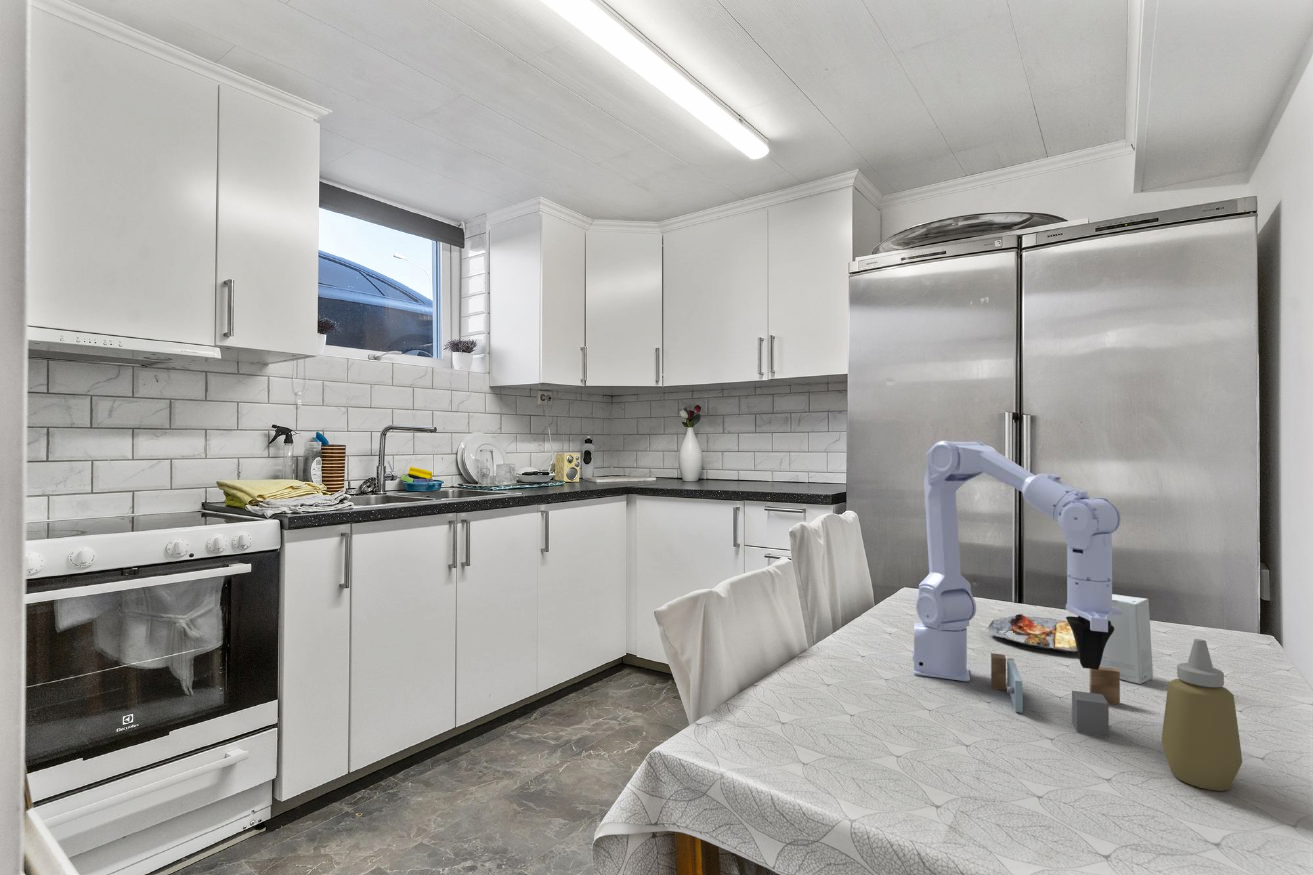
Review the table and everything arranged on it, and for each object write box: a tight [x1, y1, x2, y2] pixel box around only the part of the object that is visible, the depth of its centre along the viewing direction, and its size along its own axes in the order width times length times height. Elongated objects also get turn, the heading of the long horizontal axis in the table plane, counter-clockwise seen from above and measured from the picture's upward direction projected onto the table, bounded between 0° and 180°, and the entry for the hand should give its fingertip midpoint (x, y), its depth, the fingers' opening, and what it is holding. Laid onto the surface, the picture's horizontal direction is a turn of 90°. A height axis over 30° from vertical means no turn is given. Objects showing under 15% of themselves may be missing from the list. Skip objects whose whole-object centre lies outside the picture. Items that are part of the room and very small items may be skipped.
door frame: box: [990, 652, 1121, 706], centre depth 113 cm, size 19×2×6 cm, turn 66°
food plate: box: [986, 613, 1078, 655], centre depth 145 cm, size 25×23×4 cm
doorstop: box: [1071, 690, 1110, 738], centre depth 99 cm, size 4×4×5 cm
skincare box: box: [1100, 593, 1154, 685], centre depth 123 cm, size 8×6×15 cm
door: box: [1006, 657, 1024, 714], centre depth 111 cm, size 12×2×5 cm, turn 157°
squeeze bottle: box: [1160, 638, 1244, 792], centre depth 84 cm, size 8×8×18 cm
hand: (1089, 667), depth 99 cm, fingers closed
